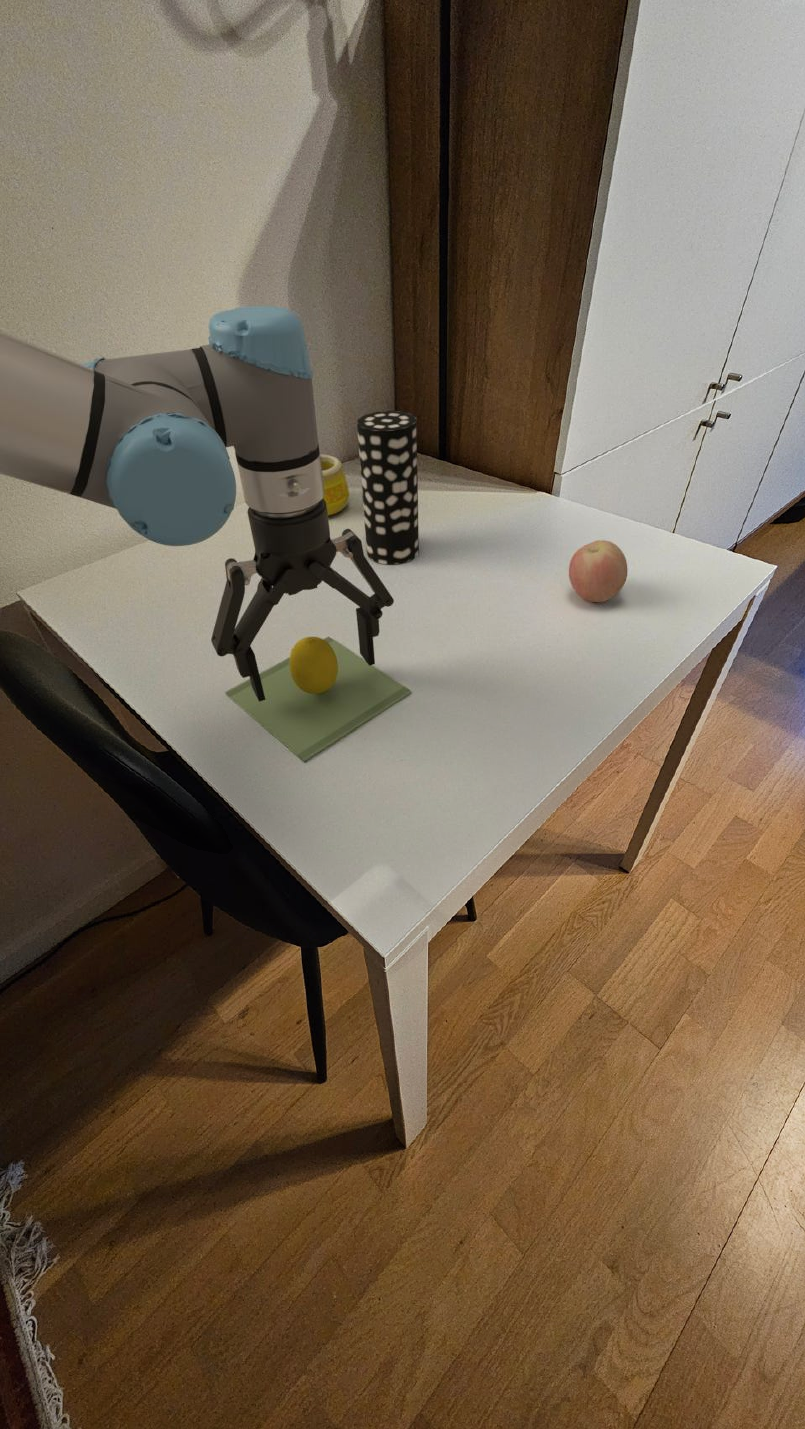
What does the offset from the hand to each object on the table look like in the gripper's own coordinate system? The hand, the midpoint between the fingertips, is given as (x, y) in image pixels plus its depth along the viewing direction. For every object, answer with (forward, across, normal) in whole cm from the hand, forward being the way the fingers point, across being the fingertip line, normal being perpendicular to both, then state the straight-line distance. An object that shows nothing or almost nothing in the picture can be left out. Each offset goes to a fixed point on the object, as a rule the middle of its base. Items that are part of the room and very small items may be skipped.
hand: (314, 676), depth 74 cm
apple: (+3, +42, +1) cm, 42 cm away
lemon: (+3, 0, 0) cm, 3 cm away
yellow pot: (+3, +19, +49) cm, 53 cm away
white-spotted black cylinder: (+3, +23, +27) cm, 36 cm away
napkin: (+3, 0, 0) cm, 3 cm away
